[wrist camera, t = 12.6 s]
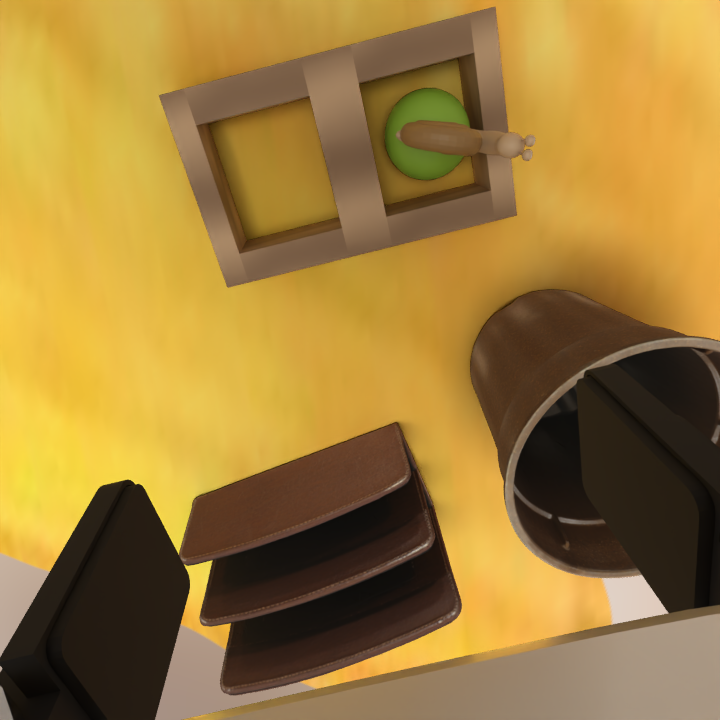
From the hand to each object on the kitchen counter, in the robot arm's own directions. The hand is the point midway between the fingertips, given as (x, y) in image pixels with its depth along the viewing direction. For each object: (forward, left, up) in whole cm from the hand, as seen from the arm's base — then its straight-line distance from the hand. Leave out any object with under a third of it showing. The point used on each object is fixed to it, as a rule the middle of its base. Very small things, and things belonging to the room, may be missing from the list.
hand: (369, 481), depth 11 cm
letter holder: (+24, -8, -31) cm, 40 cm away
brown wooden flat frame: (-4, +2, -30) cm, 31 cm away
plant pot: (+15, +14, -31) cm, 37 cm away
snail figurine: (-4, +8, -31) cm, 32 cm away
